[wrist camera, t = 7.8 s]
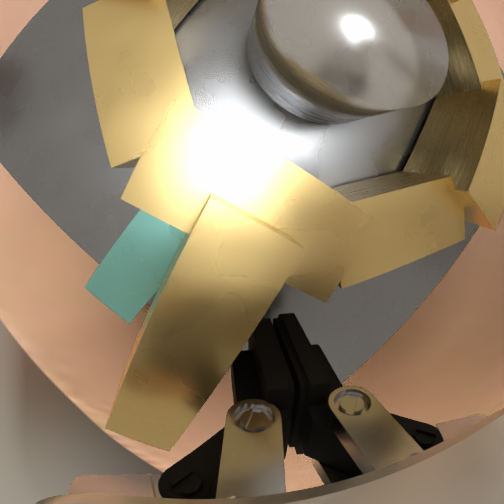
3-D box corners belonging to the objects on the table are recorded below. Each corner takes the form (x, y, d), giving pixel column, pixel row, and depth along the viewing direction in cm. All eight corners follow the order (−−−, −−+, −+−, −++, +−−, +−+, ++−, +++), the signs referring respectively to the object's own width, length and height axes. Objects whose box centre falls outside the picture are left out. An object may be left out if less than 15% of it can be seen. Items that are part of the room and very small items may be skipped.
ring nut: (304, 399, 13) (335, 476, 8) (12, 266, 9) (-59, 315, 5) (483, 64, 9) (546, 54, 4) (251, -94, 5) (267, -151, 1)
